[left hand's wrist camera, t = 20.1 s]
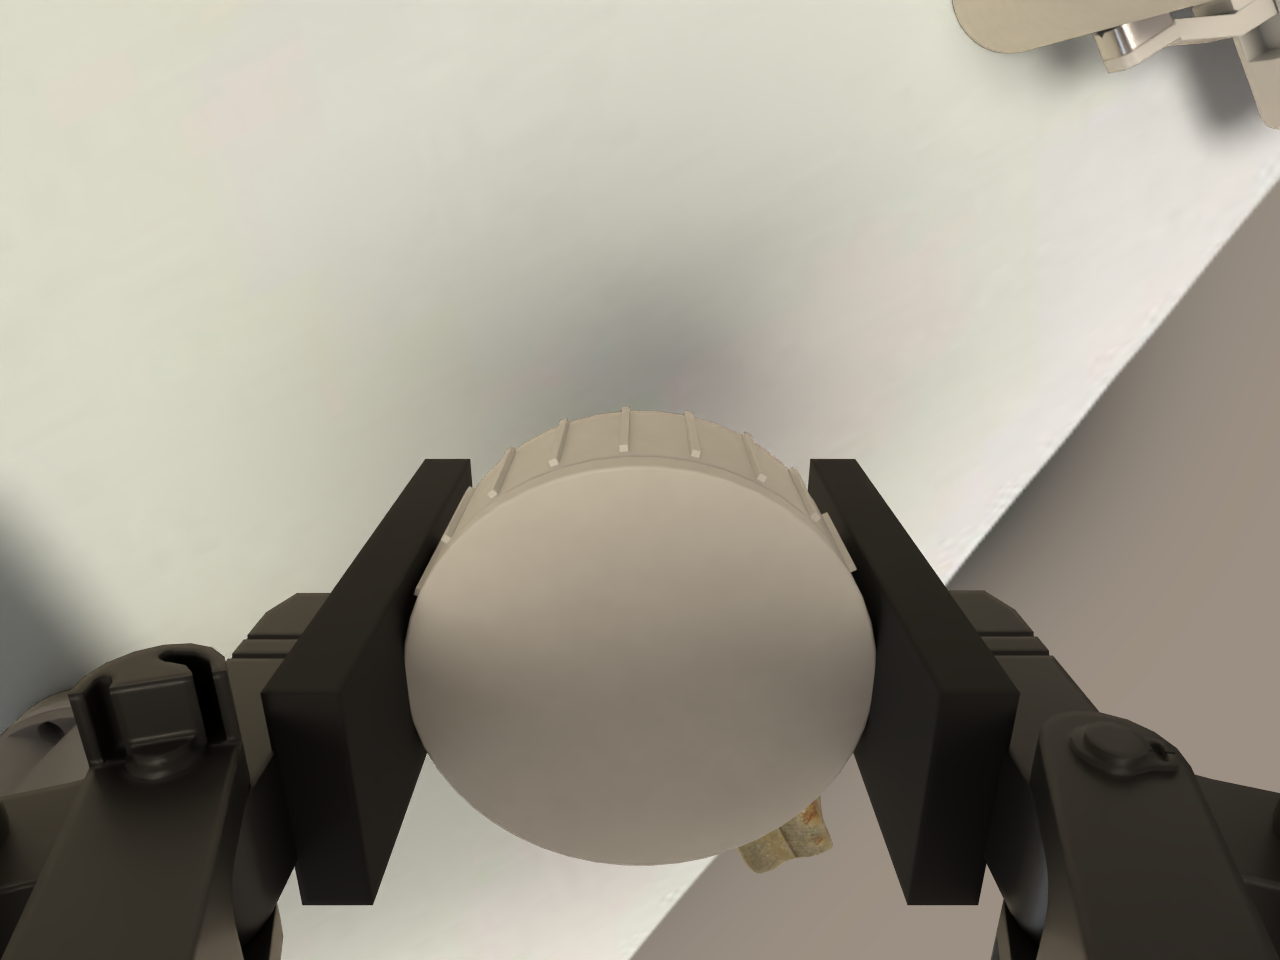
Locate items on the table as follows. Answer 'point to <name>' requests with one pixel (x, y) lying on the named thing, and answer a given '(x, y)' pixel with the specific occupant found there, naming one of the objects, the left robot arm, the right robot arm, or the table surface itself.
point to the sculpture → (789, 841)
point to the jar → (1051, 19)
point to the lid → (639, 642)
